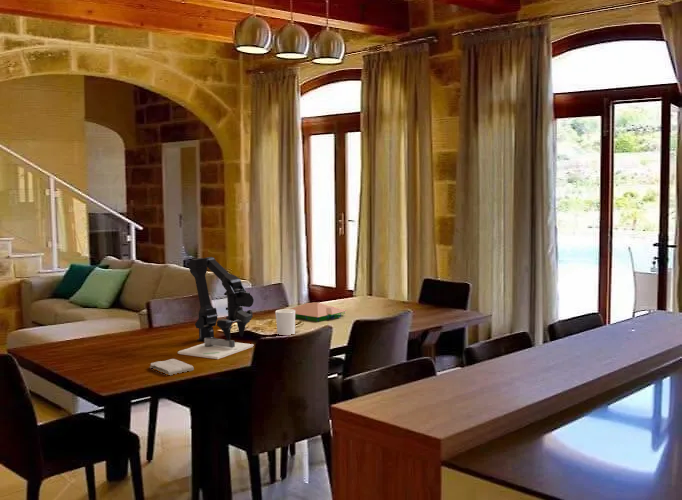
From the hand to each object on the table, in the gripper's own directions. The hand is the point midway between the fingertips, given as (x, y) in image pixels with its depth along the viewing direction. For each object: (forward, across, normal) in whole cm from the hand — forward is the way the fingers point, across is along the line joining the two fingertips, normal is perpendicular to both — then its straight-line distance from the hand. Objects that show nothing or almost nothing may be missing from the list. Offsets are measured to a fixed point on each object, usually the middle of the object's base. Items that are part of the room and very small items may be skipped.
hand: (235, 338), depth 336 cm
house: (+4, +73, +3) cm, 73 cm away
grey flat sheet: (+3, -12, +2) cm, 12 cm away
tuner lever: (+2, -10, +1) cm, 11 cm away
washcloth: (+4, -45, -3) cm, 45 cm away
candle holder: (+3, +27, -10) cm, 29 cm away
